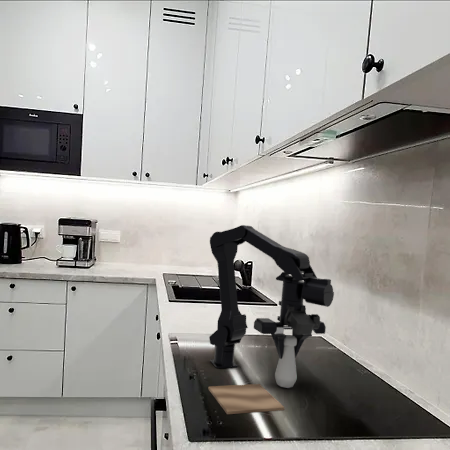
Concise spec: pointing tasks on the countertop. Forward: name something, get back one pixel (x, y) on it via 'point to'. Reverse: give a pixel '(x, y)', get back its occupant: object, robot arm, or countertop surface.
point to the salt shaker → (287, 364)
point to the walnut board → (245, 398)
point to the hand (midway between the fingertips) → (287, 358)
